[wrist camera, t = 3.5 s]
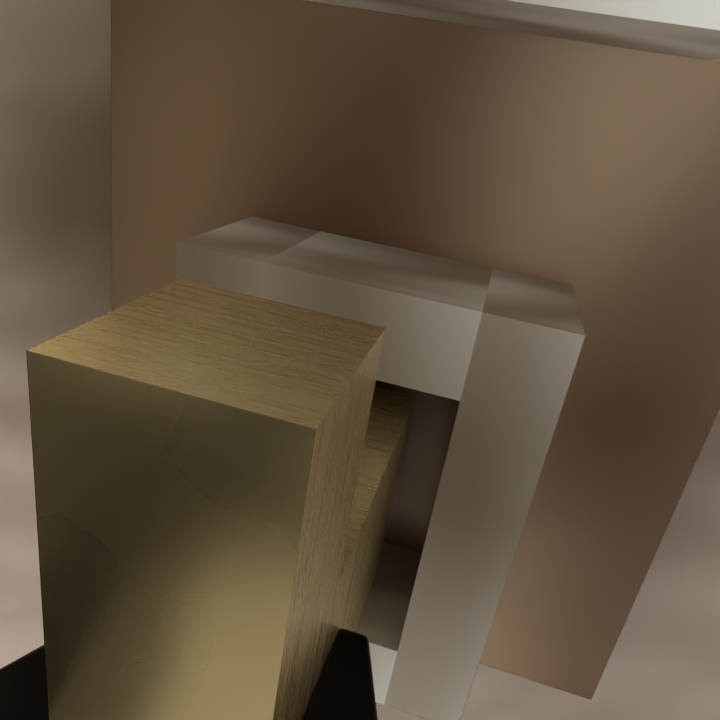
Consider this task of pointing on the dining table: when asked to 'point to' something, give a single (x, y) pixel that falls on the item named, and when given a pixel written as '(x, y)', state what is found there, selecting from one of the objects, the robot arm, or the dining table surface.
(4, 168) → the dining table surface
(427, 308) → the board
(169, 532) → the gold rectangular bar
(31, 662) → the robot arm
